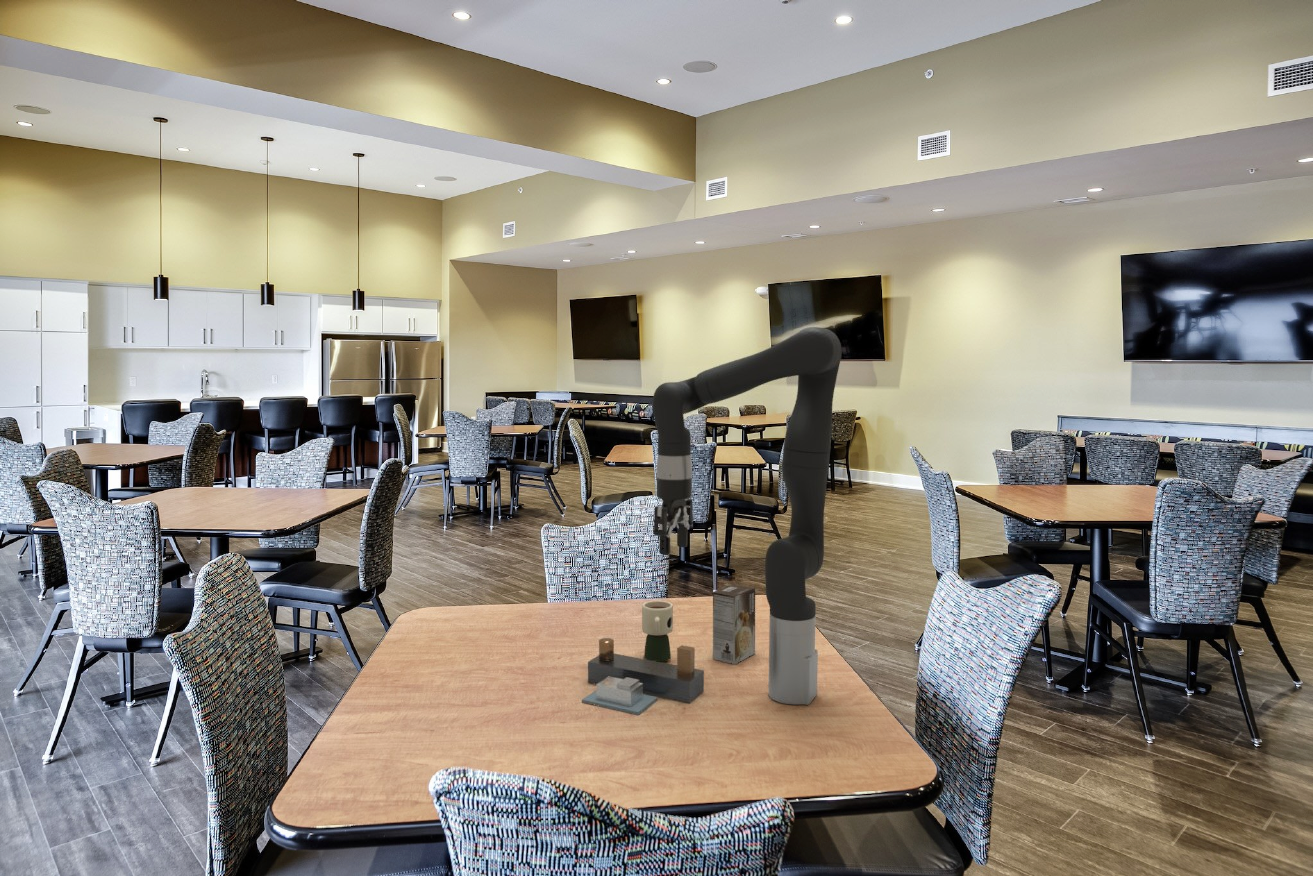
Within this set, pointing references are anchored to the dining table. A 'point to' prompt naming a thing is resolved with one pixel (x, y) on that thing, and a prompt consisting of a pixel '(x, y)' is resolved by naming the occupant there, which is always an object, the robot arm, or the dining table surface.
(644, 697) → the mat
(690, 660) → the dark grey post stand
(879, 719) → the dining table surface
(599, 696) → the lever cap
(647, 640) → the character mug
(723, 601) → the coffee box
